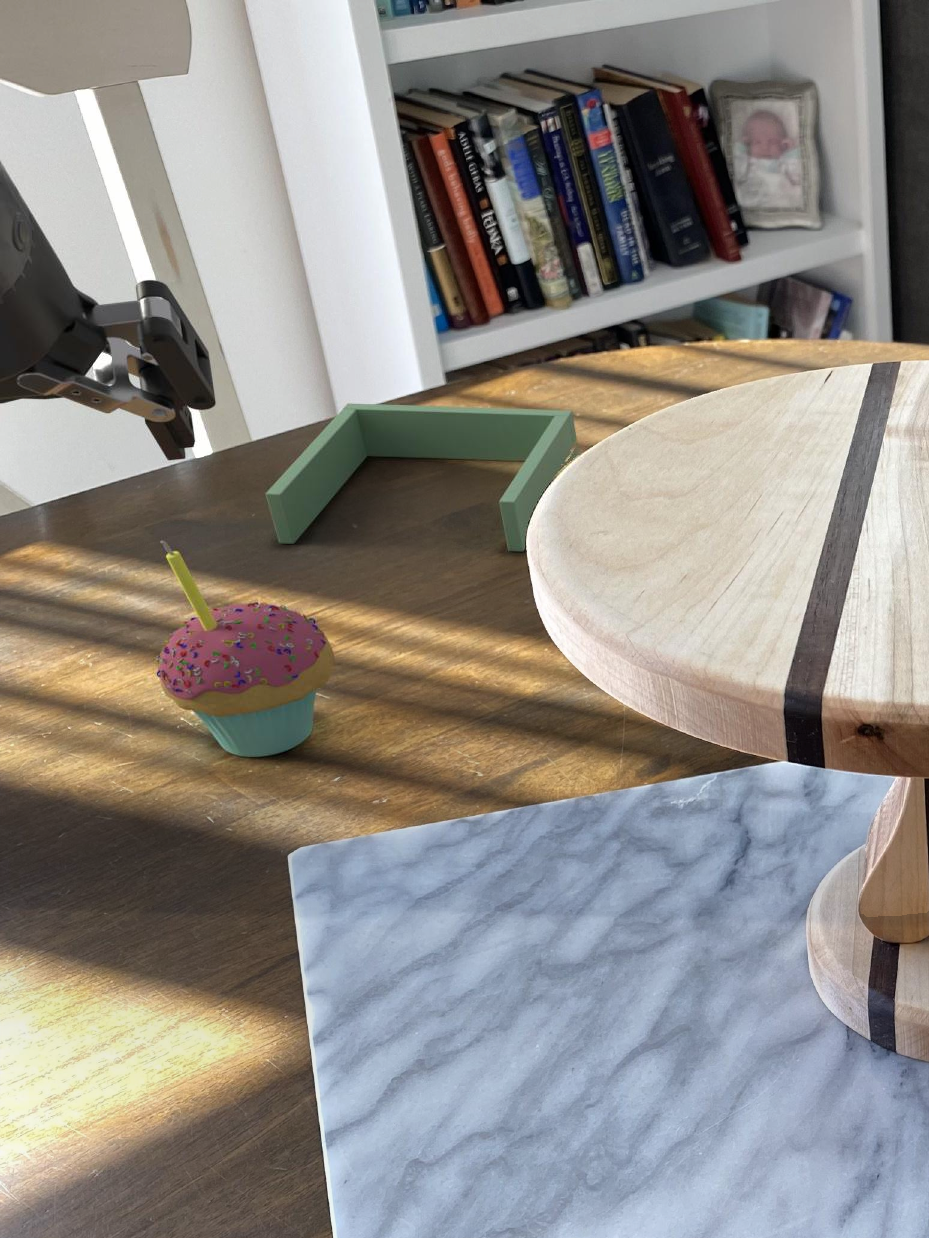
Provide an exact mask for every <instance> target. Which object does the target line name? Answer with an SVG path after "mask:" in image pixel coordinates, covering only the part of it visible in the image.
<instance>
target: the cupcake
mask: <svg viewBox="0 0 929 1238" xmlns="http://www.w3.org/2000/svg"><path fill="white" fill-rule="evenodd" d="M160 544H162V545H163V547H164V549H165V551H166V552H167V554H166V556H165V557H166V559H167V562H168V564H169V566H170V567H171V569H172V571H173V573H174V575H175V577H176V578H177V581H178V583H179V584H180V586H181V589H182V590H183V592H184V594H185V596H186V597H187V600H188V602H189V603H190V605H191V607H192V609H193V611H194V613H195V614H196V617H195V616H194V617H191V618H190V619H189V620H188V621H184V622H183V625H182V626H181V627H180V628H179V629H177V630H175V631H174V632H173V633H170V634H169V636H170V637H169V638H167V639H166V640H165V643H166V645H164V646H163V647H162V649H161V651H160V653H159V655H157V656H156V658H155V659H156V663H157V672H156V677H158V679H159V683H160V686H161V689H162V691H163V693H164V695H165V696H166V697H168V698H169V699H170V700H172V702H174V704H176V706H177V707H179V709H182V710H185V711H192V712H193V713H194V714H195V715H196V716H197V717H198V718H199V720H201V722H203V724H204V725H205V726H206V728H207V729H208V731H210V734H212V735H213V737H214V738H215V740H216V741H217V742H218V744H219V745H220V747H222V749H223V750H224V751H226V752H228V753H230V754H232V755H235V756H238V757H246V758H260V757H268V756H269V757H270V756H273V755H278V754H281V753H285V752H287V751H289V750H291V749H293V748H296V747H297V746H299V745H301V744H302V743H303V742H304V741H306V739H308V738H309V736H311V733H312V731H313V728H314V710H315V700H316V695H317V691H318V689H319V688H321V687H322V686H324V685H325V684H327V682H328V681H329V680H330V678H331V676H332V670H333V667H334V663H335V653H334V650H333V648H332V646H331V643H330V641H329V639H328V637H327V636H326V634H325V632H324V631H323V630H321V629H320V628H319V627H318V625H317V624H316V620H315V619H314V617H313V618H312V617H310V618H307V616H306V615H305V614H304V613H303V614H300V613H299V612H298V611H297V610H295V611H294V610H293V609H290V608H289V609H287V608H288V607H287V606H286V605H285V604H280V605H279V606H277V605H274V604H269V603H267V602H261V603H259V602H254V603H252V602H250V603H247V604H246V603H245V604H244V603H243V604H231V605H230V604H223V605H221V607H219V608H214V607H212V610H210V609H209V607H208V605H207V603H206V600H205V599H204V597H203V595H202V593H201V591H200V589H199V587H198V585H197V584H196V581H195V580H194V578H193V576H192V574H191V572H190V570H189V569H188V566H187V564H186V563H185V560H184V559H183V556H182V555H181V553H180V552H179V551H178V550H177V551H176V550H173V551H172V549H171V548H170V546H169V544H168V542H166V541H165V540H161V541H160Z"/></svg>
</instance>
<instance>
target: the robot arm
mask: <svg viewBox="0 0 929 1238" xmlns="http://www.w3.org/2000/svg"><path fill="white" fill-rule="evenodd" d="M15 184H16V183H14V181H13V179H12V177H11V176H10V174H9V173H8V171H7V169H6V168H5V165H4V164H3V163H2V161H1V160H0V405H2V404H7V403H11V402H16V401H19V400H54V399H66V400H69V401H72V402H75V403H77V404H79V405H83V406H85V407H88V408H90V409H93V410H95V411H99V412H101V413H104V414H111V413H113V412H115V411H117V410H118V409H120V410H123V411H125V412H128V413H131V414H133V415H135V416H137V417H140V418H144V423H145V426H146V428H147V429H148V430H149V432H150V434H151V436H152V437H153V439H154V441H155V442H156V444H157V445H158V447H159V448H160V450H161V452H162V453H163V455H164V456H165V458H166V460H167V461H177V460H179V461H180V460H186V456H187V455H186V449H189V448H191V449H192V448H195V443H196V438H195V429H194V421H193V415H192V412H191V410H196V411H206V410H211V409H212V408H214V407H215V406H216V405H217V401H216V394H215V387H214V381H213V380H214V379H213V372H212V365H211V360H210V359H211V358H210V352H209V349H208V348H207V347H206V345H205V343H204V342H203V340H202V339H201V337H200V336H199V334H198V333H197V331H196V329H195V328H194V326H193V325H192V323H191V321H190V320H189V318H188V316H187V315H186V313H185V311H184V310H183V308H182V307H181V305H180V303H179V302H178V301H177V299H176V297H175V296H174V294H173V292H172V291H171V289H170V288H169V286H168V285H167V284H166V283H164V282H162V281H160V280H156V279H146V280H141V281H139V282H138V283H137V284H136V285H135V293H136V300H130V301H129V300H128V301H121V302H113V303H103V304H100V303H99V302H98V301H97V300H95V299H94V298H92V297H91V296H90V295H88V294H86V293H84V292H82V291H81V290H79V289H78V288H77V287H76V286H74V284H73V282H72V280H71V278H70V276H69V274H68V273H67V270H66V269H65V267H64V265H63V262H62V261H61V260H60V257H59V256H58V255H57V253H56V251H55V250H54V248H53V246H52V245H51V243H50V241H49V239H48V238H47V236H46V234H45V232H44V231H43V230H42V227H41V226H40V224H39V223H38V221H37V219H36V218H35V216H34V214H33V213H32V211H31V210H30V208H29V206H28V204H27V203H26V201H25V199H24V198H23V195H22V194H21V192H20V191H19V189H18V188H17V186H16V185H15ZM91 368H92V374H93V378H91V377H88V376H86V375H87V374H88V373H89V371H90V370H91ZM130 375H132V376H135V377H137V378H139V386H140V387H137V386H135V385H134V384H133V383H132V382H131V380H130ZM190 409H191V410H190Z"/></svg>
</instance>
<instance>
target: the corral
mask: <svg viewBox="0 0 929 1238" xmlns="http://www.w3.org/2000/svg"><path fill="white" fill-rule="evenodd" d="M576 432H577V431H576V425H575V420H574V412H573V410H569V409H568V410H567V409H565V410H564V409H536V408H535V409H533V408H505V407H503V408H501V407H475V406H474V407H470V406H438V405H410V404H409V405H408V404H380V403H378V404H377V403H349V402H348V403H346V404H345V406H344V407H343V408H342V409H341V410H340V411H339V412H338V414H337V415H336V416H335V417H334V418H333V419H332V420H331V422H329V424H328V425H327V426H326V427H325V428H324V429H323V430H322V431H321V432H320V434H319V435H317V437H316V438H315V439H314V440H313V441H312V442H311V443H310V444H309V446H307V447H306V448H305V449H304V451H303V452H302V453H301V454H300V455H299V457H298V458H297V459H295V461H294V462H293V463H292V464H291V465H290V466H289V467H288V468H287V469H286V471H284V472H283V474H282V475H281V476H280V477H279V478H278V479H277V481H276V482H274V484H273V485H272V486H271V487H270V488H269V489H267V491H266V492H265V497H266V500H267V504H268V509H269V511H270V515H271V519H272V523H273V525H274V529H275V533H276V536H277V540H278V543H279V544H285V545H288V544H289V545H293V544H296V542H297V541H298V540H299V538H300V537H301V536H302V535H303V533H305V531H306V530H308V528H309V526H310V525H311V524H312V523H313V522H314V520H315V519H316V518H317V517H318V515H320V513H321V512H322V511H323V510H324V509H325V507H326V506H327V505H328V504H329V502H330V501H331V500H332V499H333V498H334V497H335V495H336V494H337V493H338V492H339V491H340V489H341V488H342V487H343V486H344V485H345V484H346V483H347V481H348V480H349V478H351V476H352V475H353V474H354V473H355V472H356V470H357V469H359V467H360V466H361V464H362V463H363V462H364V461H365V459H366V458H367V457H383V458H384V457H389V458H414V459H415V458H417V459H444V460H445V459H450V460H451V459H452V460H475V461H476V460H479V461H480V460H481V461H510V462H511V461H512V462H523V464H522V466H521V467H520V468H519V470H518V472H517V474H516V475H515V477H514V478H513V479H512V481H511V483H510V484H509V486H508V487H507V488H506V490H505V492H504V493H503V495H502V497H501V498H500V499H499V501H498V502H499V508H500V514H501V520H502V524H503V530H504V534H505V539H506V544H507V550H508V552H520V553H521V552H524V551H525V549H526V548H525V536H526V532H527V526H528V521H529V520H530V516H531V513H532V512H533V509H534V507H535V506H536V504H537V501H539V498H540V496H541V495H542V493H543V491H545V489H546V487H547V486H548V485H549V483H550V482H551V480H552V479H553V477H555V475H556V474H557V473H558V471H560V470H561V469H562V468H563V467H564V465H567V463H569V462H570V461H572V460H573V458H575V457H576V456H577V455H579V456H580V452H579V445H578V444H577V446H576V448H575V449H574V451H573V453H572V454H571V456H570V458H569V459H568V461H567V462H565V460H566V458H567V457H568V456H569V455H570V453H571V451H570V450H571V449H572V448H573V445H574V444H575V442H576V441H577V442H578V439H577V433H576ZM561 464H563V465H561Z"/></svg>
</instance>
